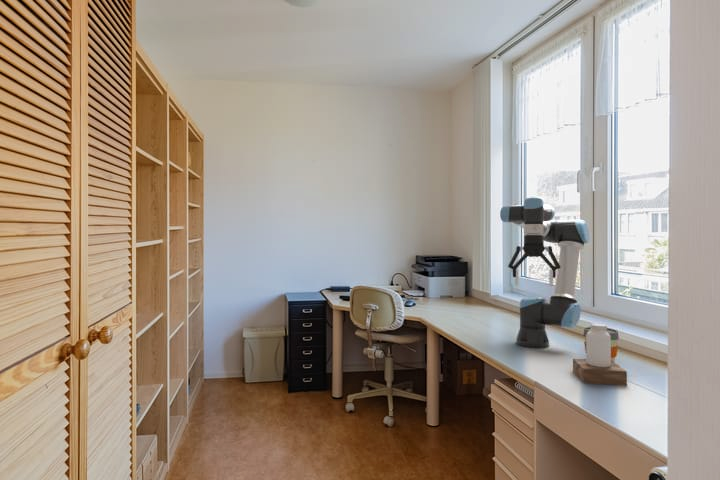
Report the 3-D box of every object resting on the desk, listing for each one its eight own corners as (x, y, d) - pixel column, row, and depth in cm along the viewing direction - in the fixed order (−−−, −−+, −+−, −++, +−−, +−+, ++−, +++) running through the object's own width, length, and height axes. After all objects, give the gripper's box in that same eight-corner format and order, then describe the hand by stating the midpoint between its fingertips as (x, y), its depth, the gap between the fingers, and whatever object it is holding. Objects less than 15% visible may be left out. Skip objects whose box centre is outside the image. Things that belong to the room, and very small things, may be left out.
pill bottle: (608, 362, 163) (608, 323, 163) (613, 368, 155) (613, 327, 155) (584, 360, 165) (584, 322, 165) (588, 366, 158) (588, 326, 158)
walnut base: (572, 371, 168) (572, 358, 168) (611, 373, 166) (611, 360, 166) (584, 383, 155) (584, 369, 155) (626, 385, 152) (626, 371, 152)
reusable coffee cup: (606, 373, 166) (606, 334, 166) (576, 364, 177) (576, 328, 177) (625, 368, 172) (625, 331, 172) (595, 360, 183) (595, 325, 183)
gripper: (503, 234, 178) (503, 285, 178) (568, 234, 173) (568, 287, 173) (501, 234, 185) (501, 283, 185) (563, 234, 180) (563, 285, 180)
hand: (533, 285), depth 179 cm, fingers open, 13 cm apart
